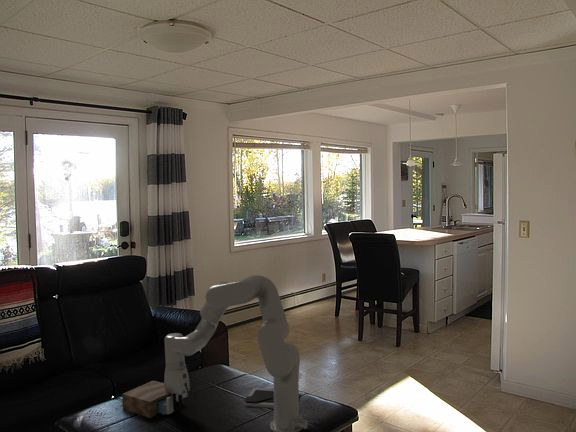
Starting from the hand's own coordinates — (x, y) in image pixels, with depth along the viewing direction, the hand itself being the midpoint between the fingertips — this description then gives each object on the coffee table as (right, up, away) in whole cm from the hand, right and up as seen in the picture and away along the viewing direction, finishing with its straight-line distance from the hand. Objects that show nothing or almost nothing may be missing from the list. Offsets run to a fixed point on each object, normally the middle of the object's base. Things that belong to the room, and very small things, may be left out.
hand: (177, 409), depth 198 cm
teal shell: (-9, -2, +6) cm, 11 cm away
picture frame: (+38, -2, +12) cm, 40 cm away
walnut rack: (-13, -2, +8) cm, 15 cm away
